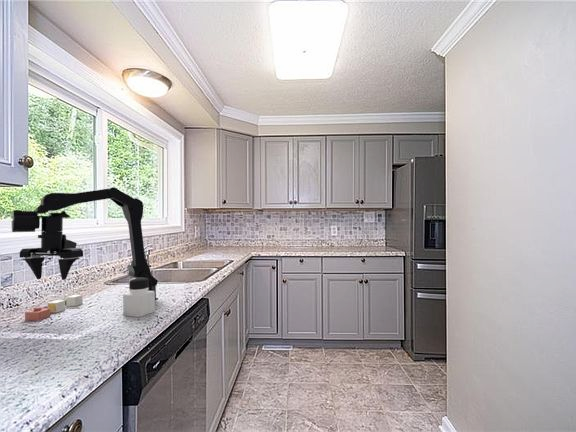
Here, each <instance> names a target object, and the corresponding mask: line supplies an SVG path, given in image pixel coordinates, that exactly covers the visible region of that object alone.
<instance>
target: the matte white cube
mask: <svg viewBox="0 0 576 432" xmlns="http://www.w3.org/2000/svg"><path fill="white" fill-rule="evenodd" d="M65 300H66V299H65ZM65 300H64V299H63V300H62V299H61V300H59V299H58V300H57V299H56V300H53V301H49V302H47V305H46V306H47V308H48V309H50V314H51V313H60V312H63V311H66V308H65V307H66V305H65Z"/></svg>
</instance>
